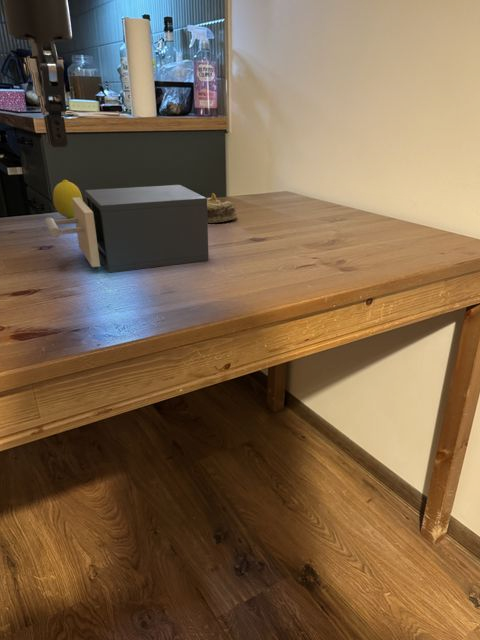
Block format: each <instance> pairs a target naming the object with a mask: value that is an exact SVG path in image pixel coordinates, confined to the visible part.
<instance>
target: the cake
mask: <svg viewBox="0 0 480 640" xmlns="http://www.w3.org/2000/svg"><path fill="white" fill-rule="evenodd" d="M206 198H207V221H208V224H209V223H210V224H215V223H222V222H228V221H232V220H234V219H237V218H238V213H237V212H236V211H237V209H236V206H235V203H233V202H232V201H228V200H226V201H224V202H221V200H219V199H218V198H217V196H216V194H215V193H214V192H212V193H211V196H210V197H206Z"/></svg>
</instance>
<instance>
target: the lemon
mask: <svg viewBox="0 0 480 640" xmlns="http://www.w3.org/2000/svg"><path fill="white" fill-rule="evenodd" d="M52 193H53V194H52V197H53V198H52V200H53V205H54V208H55V210H56V211H57V213H58V214H59V215H61V216H62V217H64V218H66V219H75V216H74V209H73V202H72V198H78V197H79V198H80V199H81V200H82V201H83V202H84V200H83V196H82V192H81V190H80V189H79V187H78V186H77V185H76V184H75V183H73V182H70V181H69V180H67V179H63V180H62V181H61V182H58V183H57V184H56V185H55V187H54V189H53V192H52Z"/></svg>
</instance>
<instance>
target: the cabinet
mask: <svg viewBox="0 0 480 640" xmlns="http://www.w3.org/2000/svg"><path fill="white" fill-rule="evenodd" d="M84 195H85V203H86V205H87V206H88V207H89V208H90V209H91V203H90V201H91V202H92V203H93V204H94V205H95V206H96V207H97V208H98V209H99V210H100V213H101V221H102V229H103V237H104V245H105V253H106V257H105V256H104V254H103V253H102V252H101V250H100V249H99V248H98V252H99V260H100V263H101V264H102V265H103V267H104V268H105V269H106V270H107V272H108V273H111V274H112V273H117V272H118V273H119V272H127V271H135V270H143V269H151V268H159V267H167V266H174V265H182V264H183V265H184V264H191V263H198V262H209V260H210V259H209V258H210V257H209V225H208V224H209V223H208V221H207V198H208V197H205V196H204V195H201V194H199V193H197V192H195V191H193V190H191V189H189V188H187V187H185V186H183V185H181V184H172V185H169V184H168V185H153V186H152V185H151V186H135V187H132V186H131V187H118V188H100V189H99V188H98V189H97V188H96V189H85V190H84Z"/></svg>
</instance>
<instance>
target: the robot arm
mask: <svg viewBox="0 0 480 640" xmlns="http://www.w3.org/2000/svg"><path fill="white" fill-rule="evenodd" d="M2 4H3V5H2V6H3V9H4V16H5V22H6V27H7V32H8V35H9V36H10V37H11V38H12V39H15V40H19V41H27V42H29V43H30V48H31V55H28V56H26V59H27V66H28V70H29V72H30V73H31V78H32V84H33V91H34V94H35V95H36V96H37V101H38V102H37V105H38V107H39V109H40V113H41V114H42V116H43V120H44V127H45V133H46V140H47V143H48V144H49V145H50V146H51V147H53V148H67V146H68V143H69V142H68V136H67V129H66V122H65V117H66V112H67V109H68V107H67V106H68V105H67V101H66V92H67V91H66V86H65V77H64V72H65V66H64V60H63V57H61V56H58V54H57V48H56V43H66V42H70V41H72V39H73V32H72V24H71V16H70V9H69V1H68V0H2ZM50 98H52V99H50Z"/></svg>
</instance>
